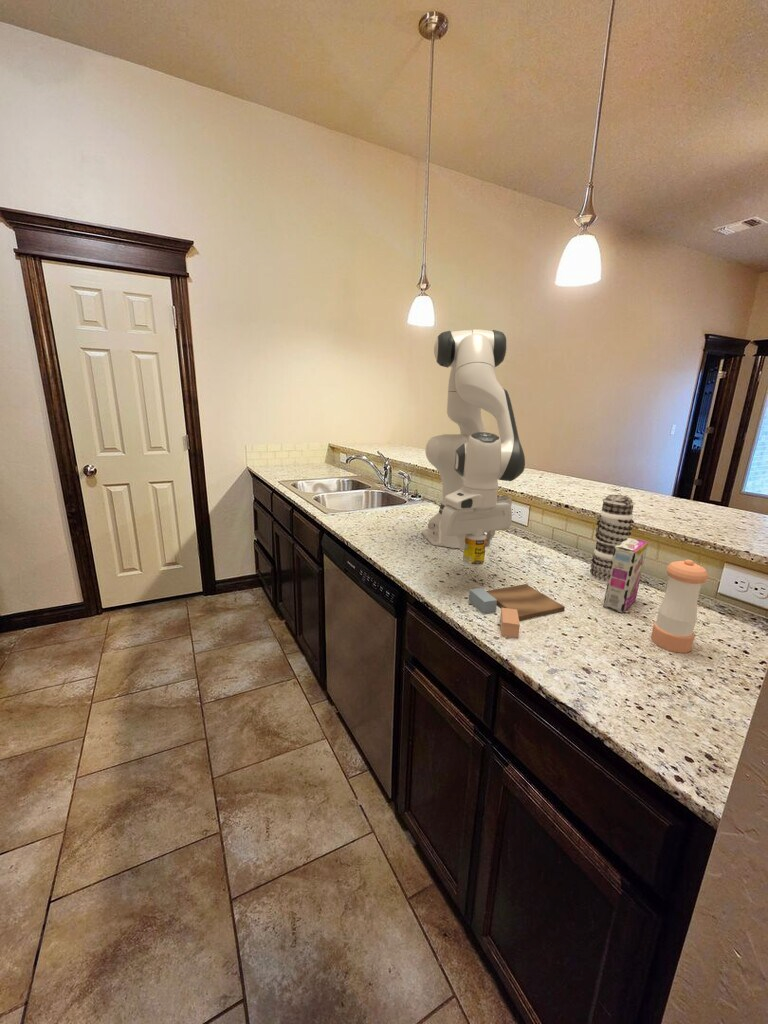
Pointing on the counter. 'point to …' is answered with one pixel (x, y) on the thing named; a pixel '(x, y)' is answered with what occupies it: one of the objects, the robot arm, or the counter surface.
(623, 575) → the candy bar box
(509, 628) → the brick terracotta
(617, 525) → the decorative candle
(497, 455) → the robot arm
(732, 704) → the counter surface
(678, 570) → the pepper shaker
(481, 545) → the supplement bottle
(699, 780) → the counter surface
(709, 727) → the counter surface
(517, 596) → the board
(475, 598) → the brick blue
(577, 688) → the counter surface
